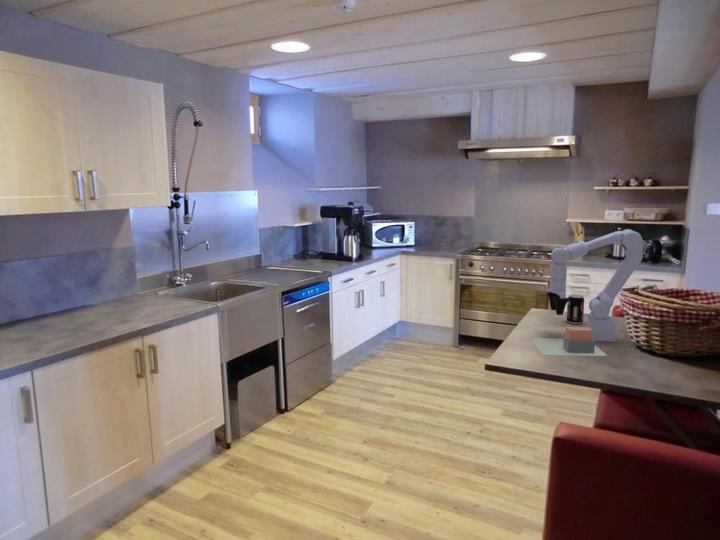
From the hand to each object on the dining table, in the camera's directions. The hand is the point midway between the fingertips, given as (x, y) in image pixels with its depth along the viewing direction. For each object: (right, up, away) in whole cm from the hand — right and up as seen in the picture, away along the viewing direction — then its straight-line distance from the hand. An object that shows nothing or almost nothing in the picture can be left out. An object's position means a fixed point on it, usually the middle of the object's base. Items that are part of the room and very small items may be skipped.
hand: (556, 312), depth 201 cm
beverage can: (+16, -7, +21) cm, 27 cm away
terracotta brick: (+1, -8, -17) cm, 19 cm away
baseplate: (-1, -12, -12) cm, 17 cm away
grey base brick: (+1, -12, -16) cm, 21 cm away
